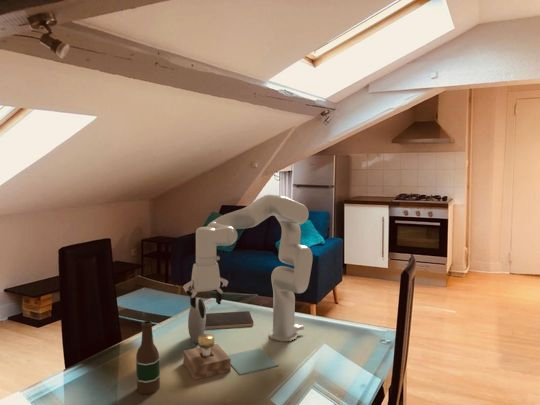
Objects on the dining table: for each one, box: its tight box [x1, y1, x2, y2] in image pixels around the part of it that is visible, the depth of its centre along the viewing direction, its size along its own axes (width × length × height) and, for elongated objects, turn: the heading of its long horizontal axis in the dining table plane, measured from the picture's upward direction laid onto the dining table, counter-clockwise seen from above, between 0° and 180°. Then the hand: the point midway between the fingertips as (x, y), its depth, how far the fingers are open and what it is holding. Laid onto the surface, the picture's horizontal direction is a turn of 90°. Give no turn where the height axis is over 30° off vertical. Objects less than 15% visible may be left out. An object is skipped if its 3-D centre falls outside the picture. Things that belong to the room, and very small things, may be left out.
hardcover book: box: [205, 310, 255, 330], centre depth 211 cm, size 16×23×2 cm
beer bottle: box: [135, 320, 161, 396], centre depth 149 cm, size 8×8×24 cm
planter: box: [187, 297, 207, 344], centre depth 188 cm, size 18×7×19 cm, turn 0°
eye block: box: [182, 343, 232, 381], centre depth 166 cm, size 14×14×5 cm
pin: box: [198, 333, 215, 358], centre depth 165 cm, size 6×6×12 cm
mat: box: [227, 347, 279, 376], centre depth 171 cm, size 16×16×1 cm
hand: (206, 305), depth 163 cm, fingers open, 9 cm apart
